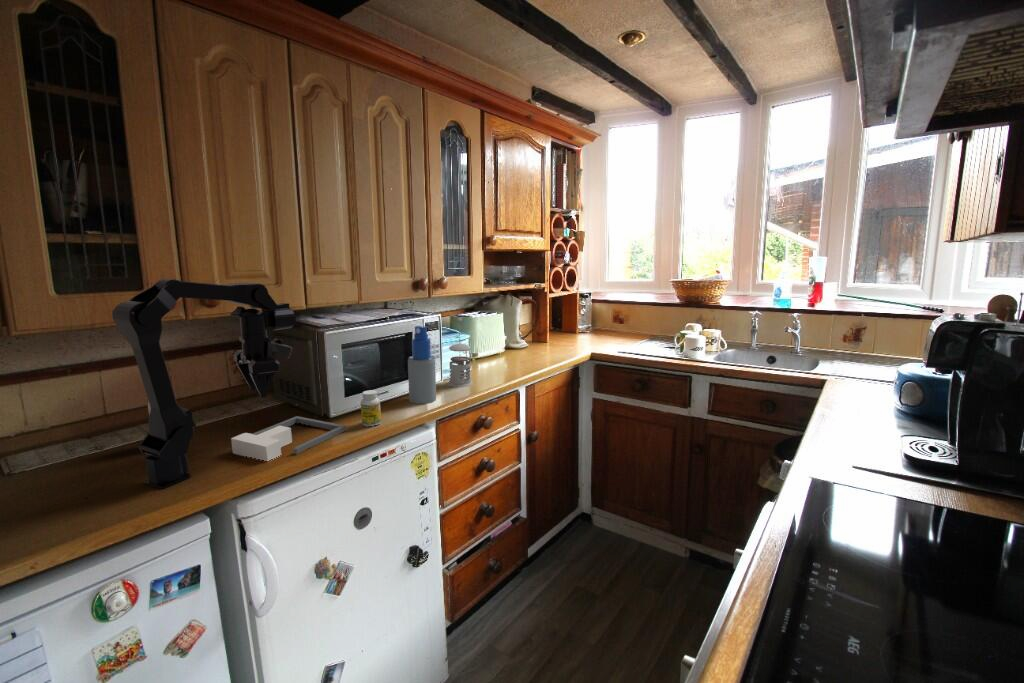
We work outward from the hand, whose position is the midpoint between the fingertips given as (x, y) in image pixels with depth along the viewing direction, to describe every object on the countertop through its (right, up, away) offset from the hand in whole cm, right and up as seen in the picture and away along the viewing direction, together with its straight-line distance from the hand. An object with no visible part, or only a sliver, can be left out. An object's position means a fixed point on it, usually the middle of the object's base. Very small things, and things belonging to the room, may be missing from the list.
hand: (258, 393), depth 124 cm
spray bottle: (+35, -7, +39) cm, 53 cm away
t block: (+3, -14, -1) cm, 14 cm away
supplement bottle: (+24, -11, +17) cm, 31 cm away
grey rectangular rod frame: (+7, -12, +7) cm, 16 cm away
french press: (+46, -3, +59) cm, 75 cm away
